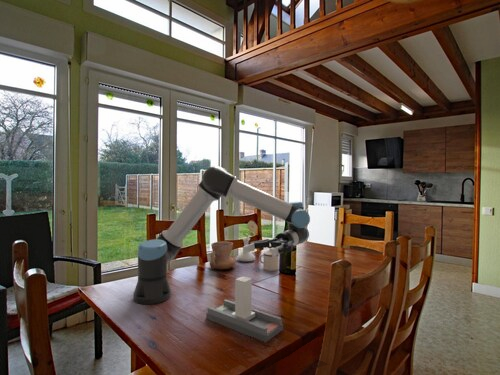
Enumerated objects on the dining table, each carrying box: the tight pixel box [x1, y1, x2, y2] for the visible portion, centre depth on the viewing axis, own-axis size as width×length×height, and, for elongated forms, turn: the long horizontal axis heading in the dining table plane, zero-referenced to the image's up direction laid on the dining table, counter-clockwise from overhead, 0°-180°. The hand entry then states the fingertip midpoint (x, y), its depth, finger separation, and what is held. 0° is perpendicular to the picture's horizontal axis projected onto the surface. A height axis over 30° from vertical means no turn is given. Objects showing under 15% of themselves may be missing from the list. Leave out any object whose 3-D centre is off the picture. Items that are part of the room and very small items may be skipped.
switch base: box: [205, 298, 284, 343], centre depth 103 cm, size 26×10×4 cm, turn 53°
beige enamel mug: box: [258, 248, 280, 272], centre depth 169 cm, size 12×9×12 cm
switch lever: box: [231, 276, 255, 321], centre depth 102 cm, size 6×6×13 cm
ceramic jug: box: [209, 241, 236, 271], centre depth 168 cm, size 18×14×14 cm
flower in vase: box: [236, 220, 258, 262], centre depth 185 cm, size 13×11×25 cm
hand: (257, 251), depth 112 cm, fingers open, 13 cm apart
